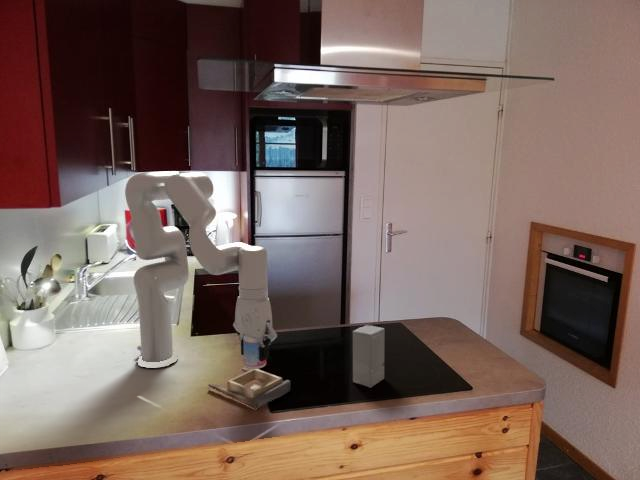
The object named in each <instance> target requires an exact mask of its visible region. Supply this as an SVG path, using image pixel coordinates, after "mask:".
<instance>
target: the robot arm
mask: <svg viewBox="0 0 640 480" xmlns="http://www.w3.org/2000/svg"><path fill="white" fill-rule="evenodd" d="M213 194H214V185H213V181H212V180H211V178H210V176H208V175H207V174H205V173H203V172H200V171H199V172H197V171H195V172H194V171H193V172H191V171H179V170H177V171H176V170H171V171H170V170H167V171H165V170H164V171H163V170H162V171H144V172H141V173H136V174H133V175H132V176H131V177H130V178H129V179H128V181H126V184H125V189H124V196H125V199H126V203H127V207H128V210H129V213H130V218H131V226H132V236H133V241H134V243H133V244H134V249H135V252H136V255H137V257H138V258H139V259H140V260H143V261H151V260H156V259H162V258H164V260H163V261H160V262H159V261H158V262H153V263H149V264H146V265H143V266H141V267H139V268H138V269H137V270H136V271H135V272H134V275H133V286H134V289H135V293H136V297H137V304H138V316H139V331H140V334H139V335H140V345H138V346H137V347H136V349H137V350H138V351H140V356H142V360H143V361H146V362H160V361H164V360H167V359H169V358H171V357H172V355H173V352H174V351H173V349H174V347H173V325H172V324H173V323H172V307H171V304H170V302H169V300H168V299H167V297H166V296H165V293H167V292H170V291H173V290H177V289H180V288H182V287H184V286H185V285H186V284H187V283H188V281H189V276H190V274H189V273H190V271H189V262H188V261H189V260H188V253H187V244H186V238H185V236H184V234H183V232H182V231H181V230H180V229H179V228H178V227H177V226H173V225H167V226H162V225H163V224H162V217H161V213H160V210H159V209H158V208H157V206H156V205H155V203H154V202H153V201H163V200H170V201H171V202H172V204H173V205H174V207H175V208H176V209H177V211H178V212H179V214H180V216H182V218H183V219H184V221H185V222H186V223H187V224H188V226H189V229H188V230H189V231H188V242H189V247H190V250H191V253H192V255H193V257H195V259H196V261H197V262H198V263H199V264H200V266H201V268H203V269H204V271H206V272H207V273H209V274H210V275H213V276H214V275H215V276H220V275H224V274H228V273H231V272H234V271H238V287H237V288H238V291H239V296H237V299H236V305H235V313H234V322H233V324H232V327H233V328H234V329H235V332H236V334H237V336H238V340H239V341H240V354H241V355H242V356H244V345H243V337H244V335H248V336H252V337H255V338H259V342H260V345H261V347H259V360H260V361H261V362H262V361H264V360H266V361H267V360H268V359H270V345H271V343H273V342H274V341H275V339H277V338H278V333H277V331H275V329H274V328H273V314H272V306H271V301H270V298H269V289H268V287H269V286H268V282H269V281H268V280H269V279H268V277H269V276H268V273H269V272H268V251H267V249H266V248H265V247H263V246H259V245H249V244H247V243H245V242H241V241H236V242H231V243H225V244H221V245H215V244H214V243H213V241H212V240H211V238H209V236H208V233H207V232H206V228H207V227H209V226H210V224H211V223H212V222H213V221H214V220H215V218H216V215H217V211H216V208H215V207H214V205H213V204H212V203H211V202H210V201H209V199H210V198H211V197H212V196H213ZM263 337H265V341H264V339H263Z"/></svg>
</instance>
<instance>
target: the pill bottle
mask: <svg viewBox="0 0 640 480" xmlns="http://www.w3.org/2000/svg"><path fill="white" fill-rule="evenodd" d="M263 339H264V341H265V337H263ZM243 345H244V355H243V364H244V367H245V368H248V369H251V370H252V369H259V370H260V369H261V368H264V367H265V366H266V365H267V359H266V360H264V361H262V362H261V361H260V360H259V347H261V345H260V342H259V338H255V337H252V336H248V335H244V337H243Z"/></svg>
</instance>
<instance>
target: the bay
mask: <svg viewBox="0 0 640 480" xmlns="http://www.w3.org/2000/svg"><path fill="white" fill-rule="evenodd" d="M250 370H252V369H250V368H247V367H245V366H244V367H242V368H241V372H242V371H243V372H247V371H250ZM207 385H208V386H209V387H211V388H213V389H216V390H217V391H219V392H222V393H223V394H225V395H227V396H230V397H232V398H234V399H236V400H238V401H240V402H242V403H244V404H246V405H248V406H250V407H252V408H254V409H256V408H258V407H261V406H263V405H264V404H266V403H268V402H270V401H271V402H273V401H275V400H277V399H279V398H280V397H282V396H284V395H285V394H288V393H289V392H291V380H289V379H286V380H282V383H280V384H278V385H276V386H274V387H272V388H271V389H269V390H267V391H265V392H263V393H261V394H259V395H258V396H256V397H254V398H252V399H250V398H248V397H245V396H243V395H241V394H238V393H236V392H233V391H231V390H229V389H228V388H227V387H223V386H221V385H219V384H217V383H214V382H210V383H208V384H207ZM276 398H277V399H276ZM274 399H275V400H274ZM272 400H273V401H272ZM271 402H270V403H271ZM268 404H269V403H268ZM266 405H267V404H266ZM264 406H265V405H264ZM264 406H263V407H264ZM261 408H262V407H261Z"/></svg>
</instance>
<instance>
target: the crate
mask: <svg viewBox="0 0 640 480" xmlns="http://www.w3.org/2000/svg"><path fill="white" fill-rule="evenodd" d="M253 380H258V381H260V382H258V383H257V382H256V383H254V384H253V386H251V387H250V388H248V387H246V386H243V385H245V384H247V383H249V382H251V381H253ZM282 381H283V377H281V376H277V375H275V374H272V373H270V372H267V371H264V370H261V369H260V368H259V369H251V370H250V371H247V372H245V373H243V374H242V373H241V374H239V375H237V376H235V377H233V378H231V379H229V380H227V389H229V390H231V391H233V392H236V393H238V394H241V395H243V396H245V397H248V398H250V399H252V398H254V397H256V396H258V395H259V394H261V393H263V392H265V391H267V390H269V389H271V388H272V387H274V386H276V385H278V384H280V383H282Z"/></svg>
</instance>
